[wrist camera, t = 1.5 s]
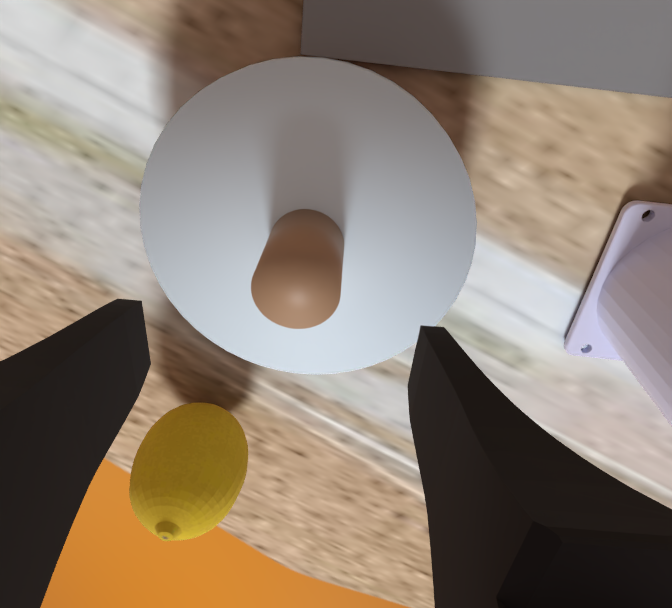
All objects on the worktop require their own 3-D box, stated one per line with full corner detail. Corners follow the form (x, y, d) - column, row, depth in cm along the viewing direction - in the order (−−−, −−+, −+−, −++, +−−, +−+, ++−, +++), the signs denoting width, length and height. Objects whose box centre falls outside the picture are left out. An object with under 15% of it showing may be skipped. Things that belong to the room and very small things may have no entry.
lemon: (145, 396, 28) (75, 521, 21) (220, 358, 26) (171, 482, 19) (205, 454, 30) (160, 584, 23) (278, 423, 28) (252, 554, 22)
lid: (512, 79, 16) (561, 101, 12) (433, 374, 22) (449, 450, 18) (131, 35, 16) (54, 42, 12) (164, 344, 22) (122, 415, 18)
